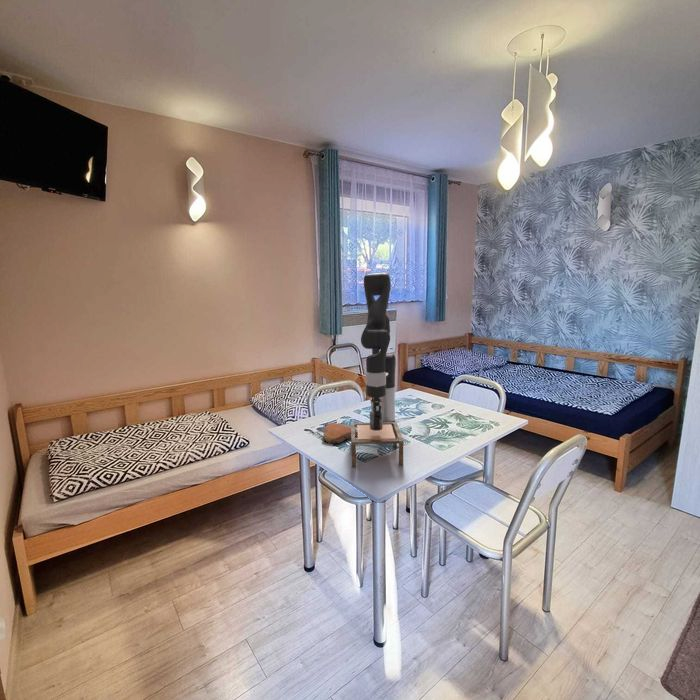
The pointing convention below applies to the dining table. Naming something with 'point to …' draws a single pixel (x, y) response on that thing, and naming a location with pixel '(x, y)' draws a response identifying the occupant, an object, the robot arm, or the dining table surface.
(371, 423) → the cylinder
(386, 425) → the trapdoor
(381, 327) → the robot arm
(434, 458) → the dining table surface
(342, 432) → the reddish brown rock
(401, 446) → the trapdoor frame
